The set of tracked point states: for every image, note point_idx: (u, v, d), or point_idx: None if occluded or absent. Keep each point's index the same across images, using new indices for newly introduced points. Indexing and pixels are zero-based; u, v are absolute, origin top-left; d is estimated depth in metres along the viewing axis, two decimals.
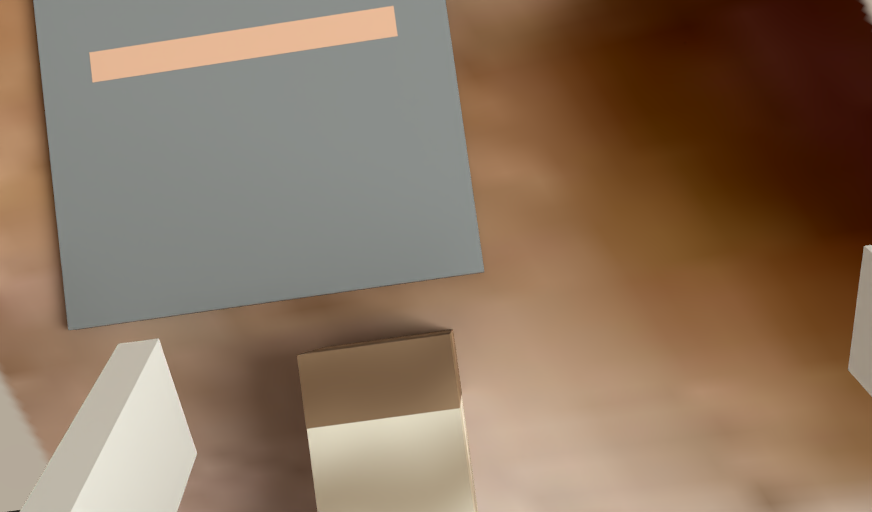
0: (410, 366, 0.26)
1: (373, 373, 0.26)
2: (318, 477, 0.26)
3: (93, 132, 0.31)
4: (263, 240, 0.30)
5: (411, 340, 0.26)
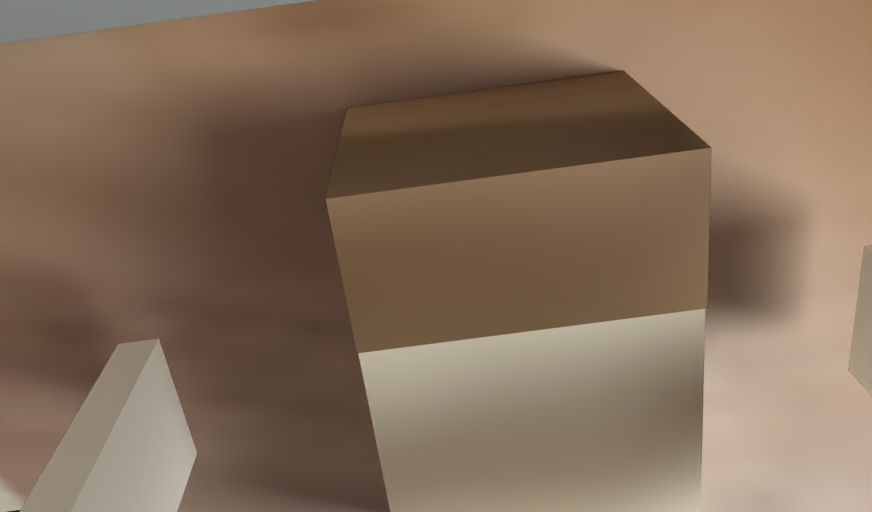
0: (604, 223, 0.11)
1: (514, 238, 0.11)
2: (386, 437, 0.12)
3: None
4: None
5: (614, 162, 0.10)
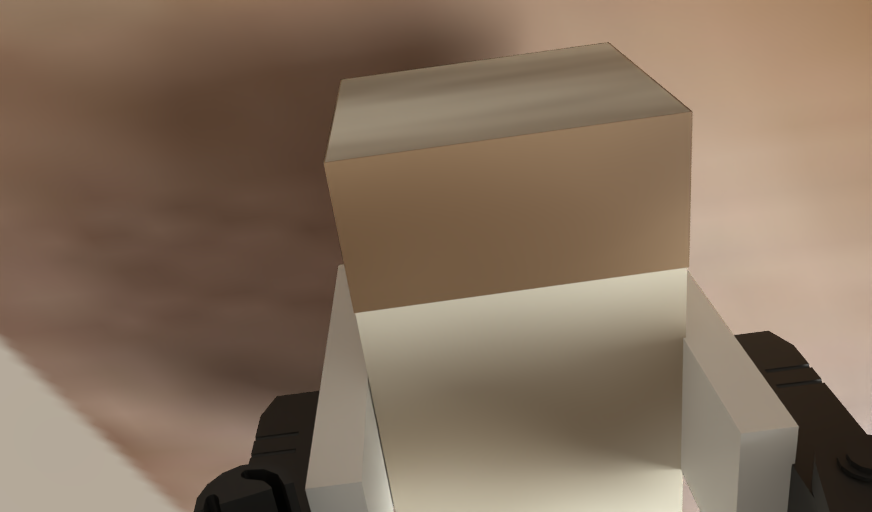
0: (590, 185, 0.11)
1: (505, 200, 0.11)
2: (383, 395, 0.13)
3: None
4: None
5: (599, 126, 0.11)
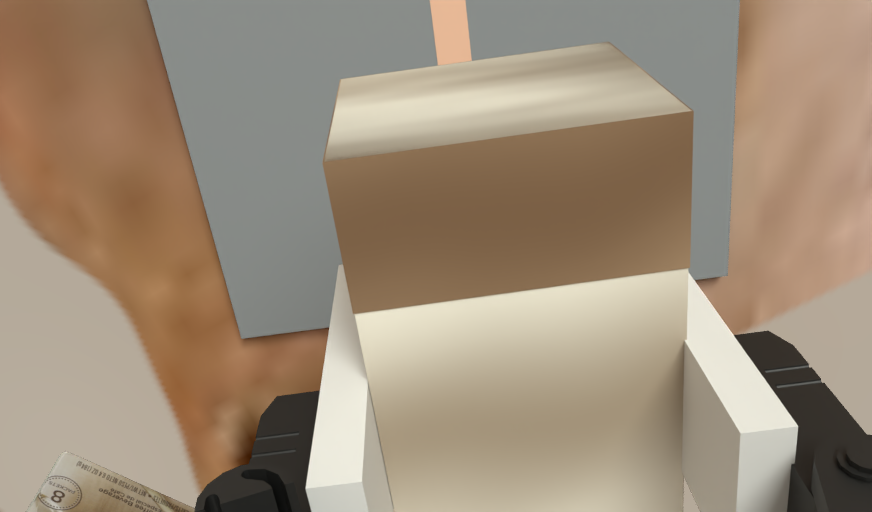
0: (591, 186, 0.11)
1: (506, 200, 0.11)
2: (382, 396, 0.13)
3: None
4: None
5: (600, 126, 0.11)
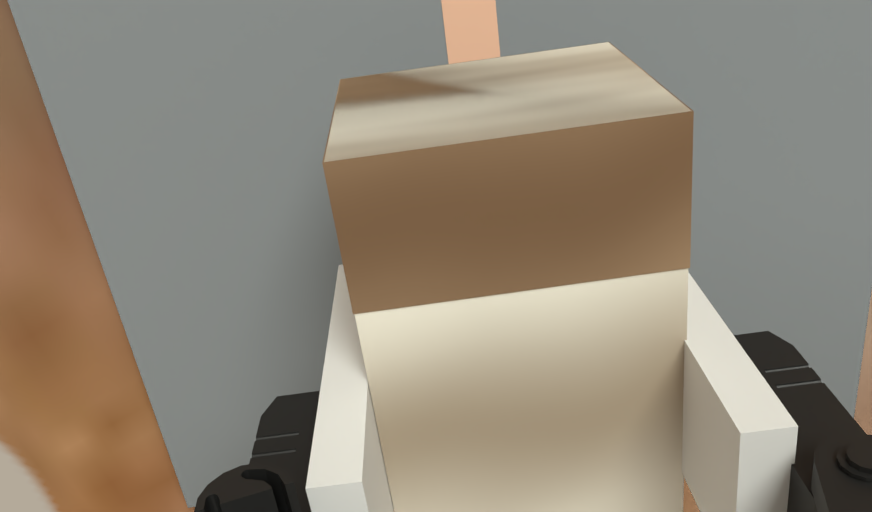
0: (591, 186, 0.11)
1: (505, 200, 0.11)
2: (382, 397, 0.13)
3: None
4: (793, 191, 0.20)
5: (600, 126, 0.11)
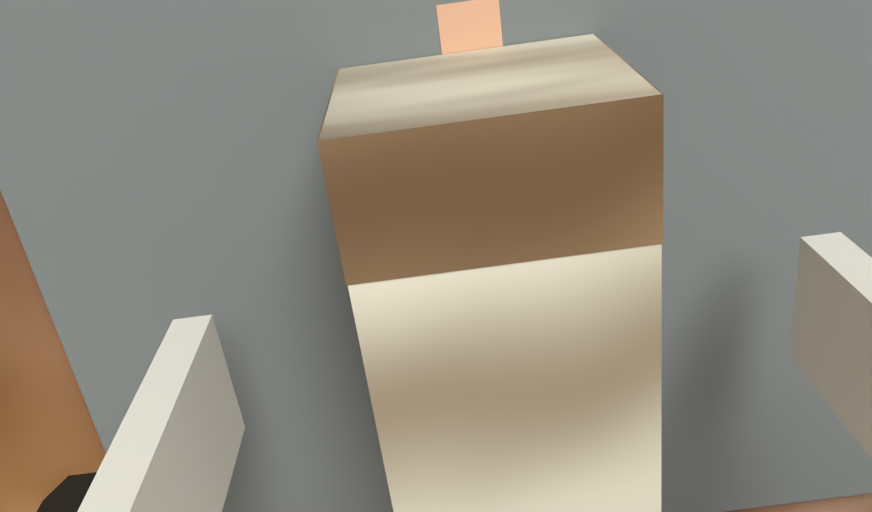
0: (568, 164, 0.12)
1: (488, 178, 0.12)
2: (374, 365, 0.13)
3: None
4: None
5: (576, 108, 0.11)
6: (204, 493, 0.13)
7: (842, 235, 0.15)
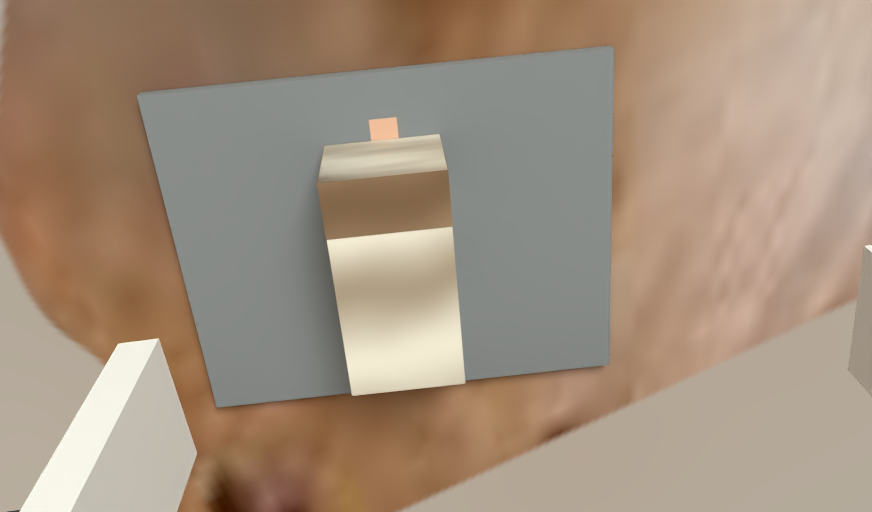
0: (413, 194, 0.31)
1: (382, 199, 0.31)
2: (336, 274, 0.32)
3: None
4: (561, 229, 0.37)
5: (415, 173, 0.30)
6: None
7: None
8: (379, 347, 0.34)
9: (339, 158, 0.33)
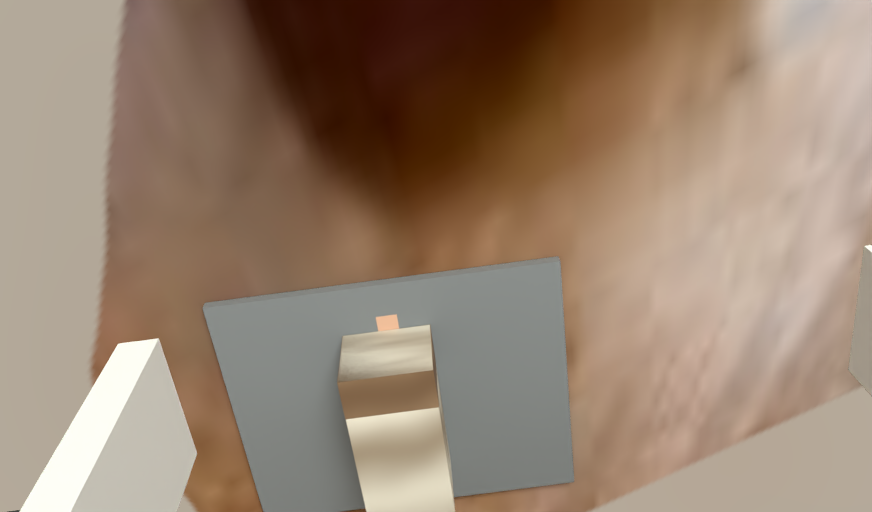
0: (408, 387, 0.41)
1: (385, 391, 0.41)
2: (354, 441, 0.43)
3: (456, 475, 0.50)
4: (528, 386, 0.47)
5: (409, 373, 0.41)
6: None
7: None
8: (388, 489, 0.44)
9: (354, 352, 0.43)
